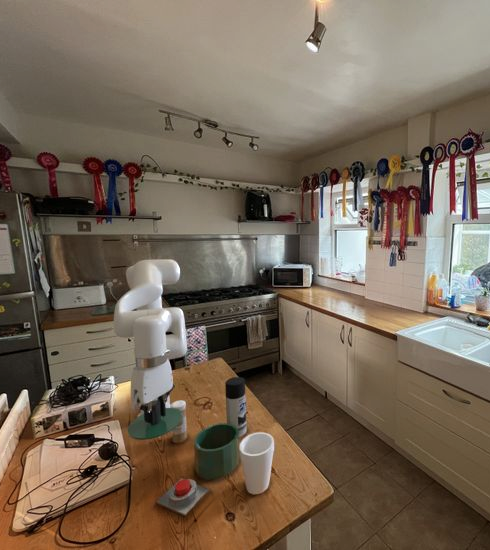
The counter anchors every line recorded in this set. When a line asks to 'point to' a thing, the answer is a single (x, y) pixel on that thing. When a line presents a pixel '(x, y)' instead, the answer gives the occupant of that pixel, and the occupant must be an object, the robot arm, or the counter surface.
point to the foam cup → (257, 461)
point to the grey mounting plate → (183, 498)
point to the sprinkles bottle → (180, 430)
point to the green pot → (216, 450)
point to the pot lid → (160, 427)
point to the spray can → (236, 403)
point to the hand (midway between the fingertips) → (155, 418)
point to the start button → (182, 487)
